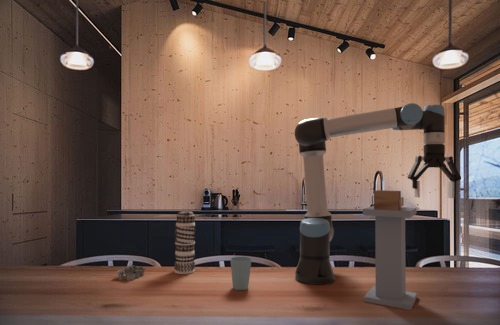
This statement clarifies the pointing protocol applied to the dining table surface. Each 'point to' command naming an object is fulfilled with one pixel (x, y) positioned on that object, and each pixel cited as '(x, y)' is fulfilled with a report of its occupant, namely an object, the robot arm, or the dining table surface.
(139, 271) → the brown lumpy stone
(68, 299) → the dining table surface
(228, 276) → the dining table surface
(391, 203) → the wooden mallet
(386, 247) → the stand
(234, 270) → the cup
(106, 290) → the dining table surface
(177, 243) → the decorative candle
